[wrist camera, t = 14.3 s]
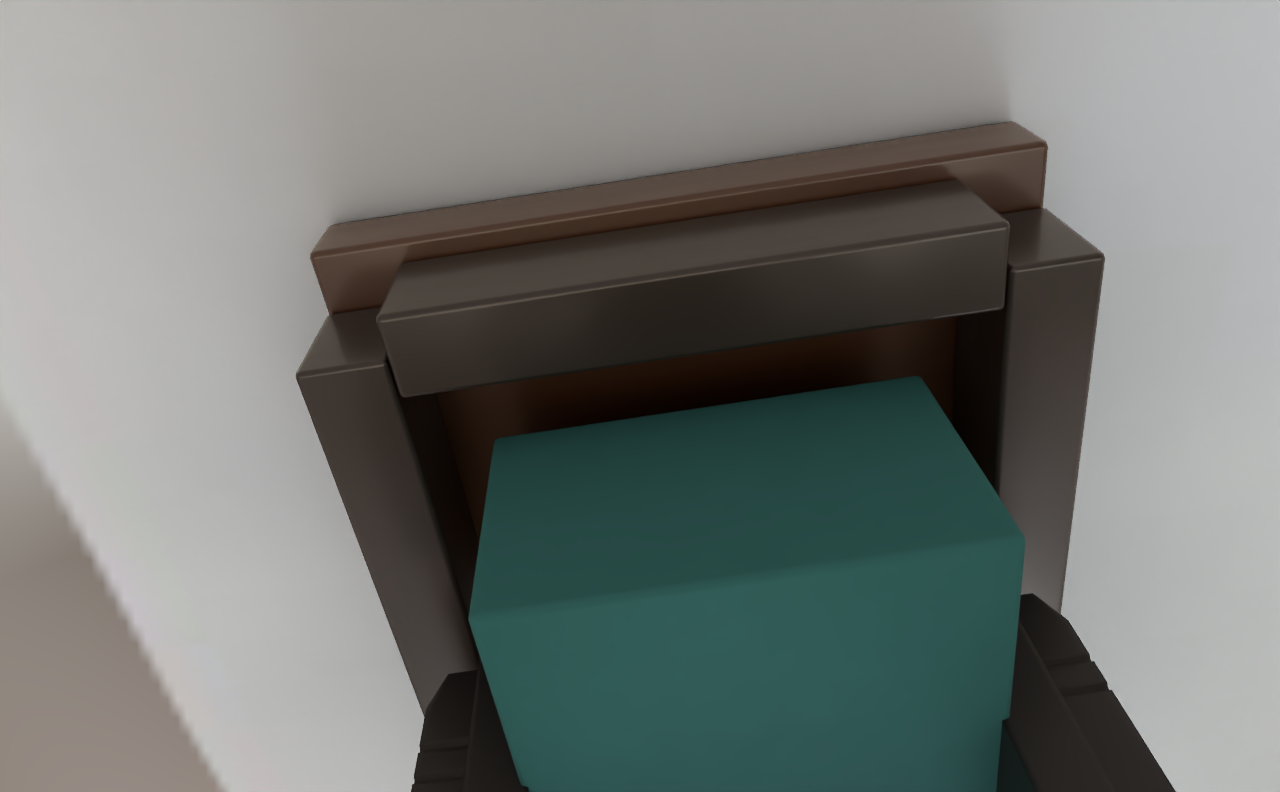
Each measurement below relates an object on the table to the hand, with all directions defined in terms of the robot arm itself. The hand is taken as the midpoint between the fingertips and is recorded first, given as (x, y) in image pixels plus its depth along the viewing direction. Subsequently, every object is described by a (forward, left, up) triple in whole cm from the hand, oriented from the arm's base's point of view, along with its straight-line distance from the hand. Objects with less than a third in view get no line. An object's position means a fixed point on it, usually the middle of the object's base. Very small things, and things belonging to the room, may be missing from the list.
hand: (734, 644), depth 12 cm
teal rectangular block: (0, 0, 0) cm, 0 cm away
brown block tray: (+4, +1, -2) cm, 5 cm away
